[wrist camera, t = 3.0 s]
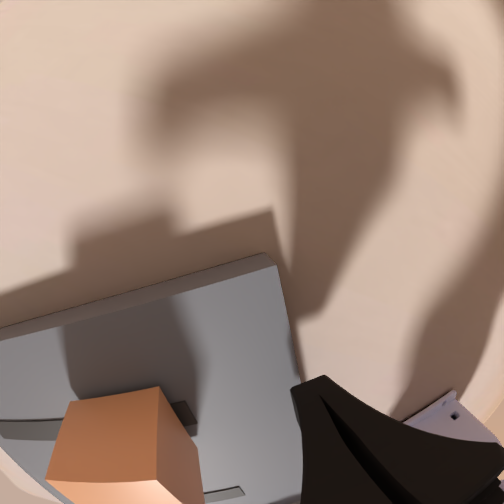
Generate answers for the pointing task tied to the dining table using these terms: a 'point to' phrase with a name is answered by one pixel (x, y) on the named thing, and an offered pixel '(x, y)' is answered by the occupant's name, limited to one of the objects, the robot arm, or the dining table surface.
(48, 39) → the dining table surface
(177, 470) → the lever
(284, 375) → the panel
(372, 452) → the robot arm
